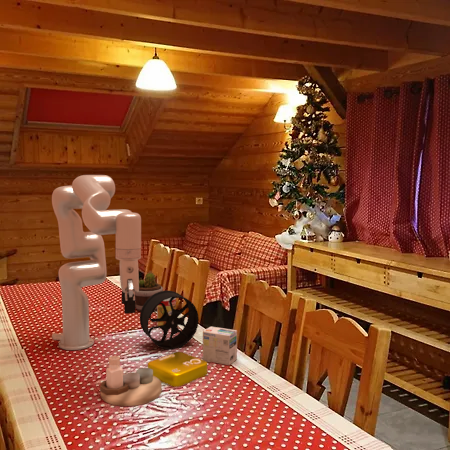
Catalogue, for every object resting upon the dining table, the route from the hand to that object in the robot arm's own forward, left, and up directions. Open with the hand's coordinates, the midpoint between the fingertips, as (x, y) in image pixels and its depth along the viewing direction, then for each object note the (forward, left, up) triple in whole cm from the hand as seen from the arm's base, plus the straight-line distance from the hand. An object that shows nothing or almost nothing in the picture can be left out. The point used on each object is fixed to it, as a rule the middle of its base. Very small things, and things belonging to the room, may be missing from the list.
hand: (128, 308), depth 153 cm
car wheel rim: (+10, +34, -24) cm, 43 cm away
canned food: (+7, +57, -24) cm, 62 cm away
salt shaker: (-3, -8, -22) cm, 24 cm away
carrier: (+2, -6, -24) cm, 25 cm away
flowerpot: (-4, +81, -24) cm, 85 cm away
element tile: (+15, +7, -25) cm, 30 cm away
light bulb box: (+29, +19, -24) cm, 42 cm away
